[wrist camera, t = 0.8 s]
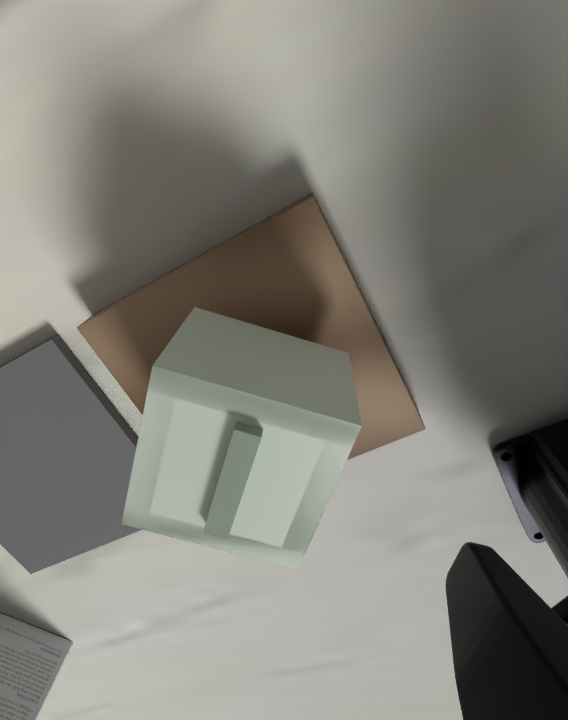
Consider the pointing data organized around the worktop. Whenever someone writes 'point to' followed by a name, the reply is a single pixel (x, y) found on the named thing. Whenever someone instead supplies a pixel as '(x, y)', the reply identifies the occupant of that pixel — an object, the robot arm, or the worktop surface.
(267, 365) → the sage cube with ridge
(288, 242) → the post stand
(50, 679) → the light bulb box
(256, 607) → the worktop surface
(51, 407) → the mat
